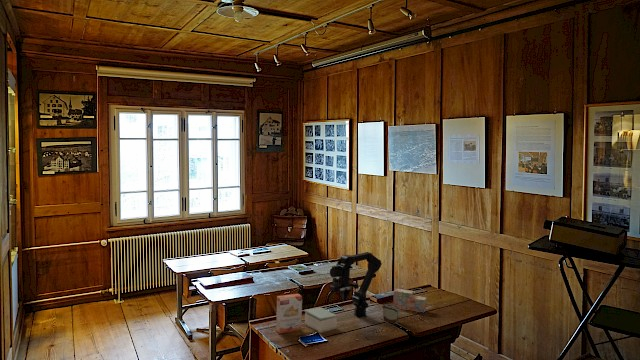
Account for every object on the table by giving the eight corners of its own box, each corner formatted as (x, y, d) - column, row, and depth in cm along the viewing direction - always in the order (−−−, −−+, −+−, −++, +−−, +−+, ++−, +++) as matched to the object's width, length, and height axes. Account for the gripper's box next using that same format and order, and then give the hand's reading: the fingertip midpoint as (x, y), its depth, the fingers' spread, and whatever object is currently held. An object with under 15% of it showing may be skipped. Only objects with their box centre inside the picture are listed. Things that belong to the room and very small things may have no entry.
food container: (403, 323, 283) (404, 307, 283) (398, 325, 279) (398, 309, 278) (387, 317, 292) (387, 302, 291) (381, 320, 287) (381, 304, 287)
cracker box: (279, 334, 262) (280, 298, 261) (275, 330, 268) (276, 295, 266) (301, 330, 268) (302, 295, 267) (297, 327, 274) (298, 292, 273)
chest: (320, 320, 286) (320, 309, 285) (336, 328, 273) (336, 317, 272) (304, 324, 279) (305, 312, 278) (320, 332, 266) (320, 321, 265)
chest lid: (320, 308, 285) (320, 307, 285) (336, 317, 272) (337, 315, 272) (304, 311, 278) (304, 310, 278) (320, 320, 265) (320, 318, 265)
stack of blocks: (426, 311, 306) (427, 293, 305) (423, 314, 300) (424, 295, 300) (395, 305, 316) (396, 288, 315) (392, 308, 310) (393, 290, 310)
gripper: (349, 271, 296) (348, 295, 297) (325, 273, 286) (324, 298, 287) (359, 275, 287) (358, 300, 287) (335, 278, 277) (334, 303, 277)
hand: (343, 300), depth 285 cm, fingers closed
